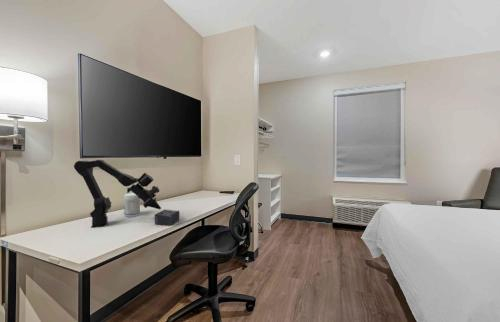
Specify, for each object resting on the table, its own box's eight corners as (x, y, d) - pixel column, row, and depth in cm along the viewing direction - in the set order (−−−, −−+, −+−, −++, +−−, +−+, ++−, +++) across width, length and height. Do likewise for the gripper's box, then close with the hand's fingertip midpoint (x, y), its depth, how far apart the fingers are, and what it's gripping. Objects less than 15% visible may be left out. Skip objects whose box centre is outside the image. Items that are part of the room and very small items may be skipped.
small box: (154, 225, 122) (170, 226, 120) (154, 214, 121) (170, 215, 119) (164, 219, 132) (179, 220, 130) (164, 209, 132) (179, 210, 129)
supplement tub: (123, 215, 141) (123, 193, 141) (138, 213, 147) (138, 192, 147) (124, 218, 134) (124, 196, 133) (141, 216, 139) (141, 194, 139)
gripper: (149, 184, 117) (170, 202, 122) (152, 180, 135) (170, 196, 139) (134, 198, 115) (155, 216, 119) (139, 193, 132) (157, 209, 136)
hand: (160, 208), depth 128 cm, fingers closed
